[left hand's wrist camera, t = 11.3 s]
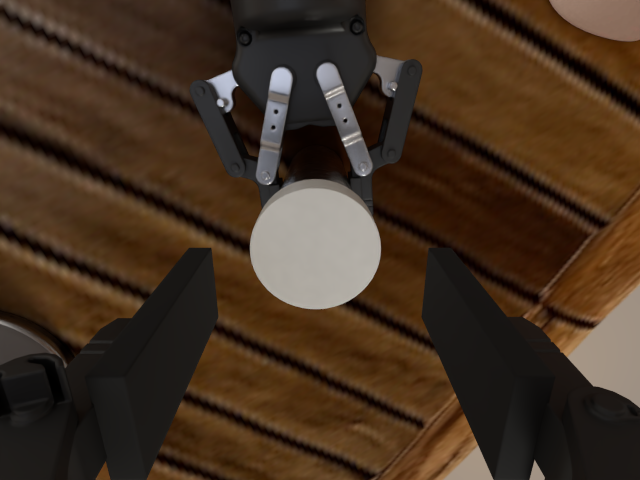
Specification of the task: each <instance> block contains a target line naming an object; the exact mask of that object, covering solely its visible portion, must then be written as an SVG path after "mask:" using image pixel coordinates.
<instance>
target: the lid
mask: <svg viewBox="0 0 640 480" xmlns="http://www.w3.org/2000/svg"><path fill="white" fill-rule="evenodd" d="M380 254H381V242H380V236H379V232H378V229H377V227H376V224H375V222H374V219H373V217H372V215H371V213H370V211H369V209H368V207H367V206H366V204H365V203H364V201H363V200H362V199H361V198H360V197H359V196H358V195H357V194H356V193H354V192H353V191H352V190H350V189H349V188H347V187H345V186H343V185H341V184H339V183H336V182H333V181H329V180H322V179H309V180H302V181H298V182H295V183H292V184H290V185H288V186H286V187H284V188H282V189H281V190H279V191H278V192H277V193H275V194H274V195H273V196H272V197H271V198H270V199H269V200H268V202H267V203H266V204H265V206H264V207H263V209H262V211H261V213H260V215H259V217H258V219H257V221H256V224H255V226H254V229H253V231H252V236H251V241H250V256H251V261H252V265H253V268H254V270H255V272H256V274H257V276H258V278H259V280H260V281H261V282H262V284H263V285H264V286H265V287H266V288H267V290H269V291H270V292H271V293H272V294H273V295H274V296H276V297H277V298H279V299H280V300H282V301H284V302H286V303H288V304H291V305H294V306H297V307H301V308H308V309H323V308H330V307H334V306H337V305H340V304H343V303H345V302H347V301H349V300H351V299H352V298H354V297H355V296H357V295H358V294H359V293H360V292H361V291H363V289H364V288H365V287H366V286H367V285H368V284H369V282H370V281H371V280H372V278H373V276H374V274H375V272H376V270H377V267H378V265H379V260H380Z"/></svg>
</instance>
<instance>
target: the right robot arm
mask: <svg viewBox="0 0 640 480" xmlns="http://www.w3.org/2000/svg"><path fill="white" fill-rule="evenodd" d="M230 1H231V7H232V14H233V21H234V28H235V34H236V42H237V47H236V54H235V58H234V60H233V63H232V70H231V71H228V72H226V73H224V74H221V75H219V76H217V77H214V78H212V79H210V80H196V81H194V82H193V83H192V84H191V86H190V94H191V96H192V98H193V101H194V103H195V105H196V107H197V109H198V111H199V113H200V116H201V118H202V120H203V122H204V124H205V126H206V128H207V131H208V133H209V135H210V137H211V139H212V141H213V143H214V145H215V148H216V150H217V152H218V154H219V156H220V158H221V160H222V163H223V165H224V167H225V169H226V171H227V173H228V174H229V175H230V176H232V177H244V178H247V179H251V180H253V181H254V182H255V183H256V184H257V185H258V187H259V192H260V198H261V205H262V209H263V207H264V206H265V204H266V203H267V202H268V200H269V199H270V198H271V197H272V196H273V195H274V194H275V193H277V192H278V191H279V190H281V187H282V185H283V179H282V178H279V174H278V170H279V165H280V159H281V154H282V149H283V144H284V140H285V135H286V130H293V129H299V128H301V127H304V126H306V125H310V124H311V125H317V126H322V127H325V126H335V125H336V127H337V130H338V132H339V135H340V137H341V140H342V142H343V145H344V147H345V150H346V152H347V155H348V157H349V160H350V167H351V172H348V181H349V184H350V187H351V190H352V191H353V192H354V193H356V194H357V195H358V196H359V197H360V198H361V199H362V200H363V201H364V203H365V204H366V206H367V207H368V209H369V211H370V213H371V215H372V217H373V200H372V199H373V198H372V175H373V173H374V171H375V170H376V169H377V168H379V167H381V166H383V165H385V164H388V163H395V162H397V161H398V160H399V159H400V157H401V154H402V150H403V146H404V142H405V138H406V134H407V130H408V126H409V122H410V118H411V114H412V110H413V106H414V102H415V98H416V95H417V91H418V87H419V83H420V79H421V75H422V65H421V64H420V62H419V61H417V60H414V59H411V60H406V61H401V60H396V59H391V58H387V57H382V56H377V55H376V51H375V49H374V47H373V45H372V44H371V42H370V40H369V37H368V34H367V28H366V9H365V0H230ZM372 73H374V74H376V75H377V76H378V78H379V80H380V91H381V93H382V94H383V95H385V96H388V99H387V104H386V108H385V112H384V117H383V121H382V125H381V130H380V134H379V138H378V143H376V144H374V145H372V146H370V147H368V148H366V145H365V143H364V140H363V137H362V134H361V131H360V128H359V126H358V123H357V120H356V118H355V115H354V113H353V110H352V107H353V106H354V104H355V102H356V100H357V99H358V97H359V95H360V94H361V92H362V90H363V89H364V87H365V85H366V84H367V82H368V80H369V78H370V77H371V75H372ZM238 87H240V88H241V89H242V90H243V91H244V93H245V94H246V95H247V96H248V97H249V98H250V99H251V100H252V102H253V103H254V104H255V105H256V106H257V107H258V108H259V109H260V111H261V112H262V113H263V114H264V115H265V118H264V124H263V130H262V136H261V142H260V153H259V158H258V157H254V156H250V155H249V154H248V152H247V149H246V147H245V145H244V143H243V140H242V138H241V136H240V134H239V131H238V129H237V127H236V124H235V122H234V120H233V118H232V115H231V113H230V111H232V110H233V109H234V108H235V106H236V100H235V91H236V89H237V88H238Z"/></svg>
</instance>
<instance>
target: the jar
mask: <svg viewBox="0 0 640 480" xmlns="http://www.w3.org/2000/svg"><path fill="white" fill-rule="evenodd" d="M309 179H322V180H329V181H333V182H336V183H339V184H341V185H343V186H345V187H347V188H349V189H350V190H351V187H350V184H349V181H348V178H347V175H346V172H345V169H344V166H343V163H342V161H341V159H340V157H339V156H338V155H337V154H336V153H335V152H334V151H333V150H331V149H329V148H327V147H324V146H319V145H314V146H308V147H306V148H303V149H302V150H300V151H299V152H298V153H297V154H296V155H295V156H294V157H293V159H292V160H291V163H290V165H289V168H288V171H287V174H286V176H285V179H284V182H283V185H282V187H281V189H282V188H284V187H286V186H288V185H290V184H292V183H295V182H298V181H302V180H309Z"/></svg>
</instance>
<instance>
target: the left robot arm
mask: <svg viewBox="0 0 640 480" xmlns="http://www.w3.org/2000/svg"><path fill="white" fill-rule="evenodd" d="M217 319H218V308H217V299H216V289H215V279H214V270H213V260H212V250H211V248H189V249H188V250H187V251H186V252H185V254H184V255H183V256H182V257H181V259H180V260H179V261H178V262H177V263H176V265H175V266H174V267H173V268H172V270H171V271H170V272H169V273H168V275H167V276H166V277H165V278H164V279H163V281H162V282H161V283H160V284H159V286H158V287H157V288H156V289H155V290H154V292H153V293H152V294H151V295H150V297H149V298H148V299H147V300H146V302H145V303H144V304H143V305H142V306H141V308H140V309H139V310H138V311H137V313H136V314H135V315H134V316H133V318H118V319H116V320H114V321H113V322H111V323H109V324H108V325H106V326H105V327H103V328H101V329H100V330H99V331H98V332H97V334H96V335H95V336H94V337H93V338H92V339H91V340H90V343H89V344H87V345H86V346H85V347H84V348H83V349H82V350H81V351H80V354H78V355H77V356H76V357H75V358H74V359H73V357H72V356H71V354H70V353H69V351H68V350H67V349H66V348H65V347H64V346H63V345H62V344H61V343H60V342H59V341H58V340H57V339H56V338H55V337H54V336H53V335H51V334H50V333H49V332H47V331H46V330H45V329H43V328H41V327H40V326H38V325H36V324H34V323H33V322H31V321H29V320H26V319H24V318H22V317H19V316H16V315H13V314H10V313H6V312H2V311H0V480H95V479H96V477H97V475H98V473H99V472H100V470H101V468H102V467H103V465H104V463H105V461H106V463H107V467H108V471H109V475H110V479H111V480H146V479H147V477H148V475H149V473H150V470H151V468H152V466H153V464H154V461H155V459H156V457H157V455H158V452H159V450H160V448H161V446H162V443H163V441H164V439H165V436H166V434H167V432H168V430H169V427H170V425H171V423H172V421H173V418H174V416H175V414H176V412H177V409H178V407H179V405H180V403H181V400H182V398H183V396H184V394H185V391H186V389H187V387H188V384H189V382H190V380H191V378H192V375H193V373H194V371H195V369H196V366H197V364H198V362H199V360H200V357H201V355H202V353H203V351H204V348H205V346H206V344H207V342H208V339H209V337H210V335H211V332H212V330H213V328H214V326H215V323H216V321H217ZM422 319H423V321H424V323H425V326H426V328H427V330H428V332H429V335H430V337H431V339H432V342H433V344H434V346H435V348H436V351H437V353H438V355H439V357H440V360H441V362H442V364H443V366H444V369H445V371H446V373H447V375H448V378H449V380H450V382H451V384H452V387H453V389H454V391H455V394H456V396H457V398H458V400H459V403H460V405H461V407H462V409H463V412H464V414H465V416H466V418H467V421H468V423H469V425H470V427H471V430H472V432H473V434H474V436H475V439H476V441H477V443H478V446H479V448H480V450H481V452H482V455H483V457H484V459H485V461H486V463H487V466H488V468H489V470H490V473H491V475H492V477H493V479H494V480H529V479H530V475H531V471H532V467H533V463H534V459H535V461H536V463H537V464H538V466H539V468H540V470H541V471H542V473H543V475H544V477H545V480H640V408H639V407H638V406H637V405H635V404H634V403H633V402H631V401H630V400H629V399H627V398H625V397H623V396H621V395H619V394H617V393H615V392H613V391H610V390H607V389H603V388H600V387H594V386H592V384H591V383H590V382H589V381H588V380H587V379H586V378H585V377H584V376H583V375H582V373H581V372H580V371H579V370H578V369H577V368H576V367H575V366H574V365H573V364H572V363H571V362H570V360H569V359H568V358H567V357H566V356H565V355H564V354H563V353H560V349H559V348H558V347H557V346H556V345H555V344H554V343H553V342H551V340H550V338H549V337H548V336H547V335H546V334H545V333H544V332H543V331H542V330H541V329H540V328H539V327H538V326H536V325H535V324H533V323H531V322H530V321H528V320H526V319H525V318H523V317H507V316H506V315H505V314H504V313H503V311H502V310H501V309H500V308H499V306H498V305H497V304H496V303H495V302H494V300H493V299H492V298H491V297H490V295H489V294H488V293H487V292H486V290H485V289H484V288H483V287H482V286H481V284H480V283H479V282H478V281H477V279H476V278H475V277H474V276H473V275H472V273H471V272H470V271H469V270H468V268H467V267H466V266H465V265H464V263H463V262H462V261H461V260H460V259H459V257H458V256H457V255H456V254H455V252H454V251H453V250H452V249H451V248H429V250H428V260H427V270H426V279H425V289H424V299H423V308H422Z"/></svg>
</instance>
